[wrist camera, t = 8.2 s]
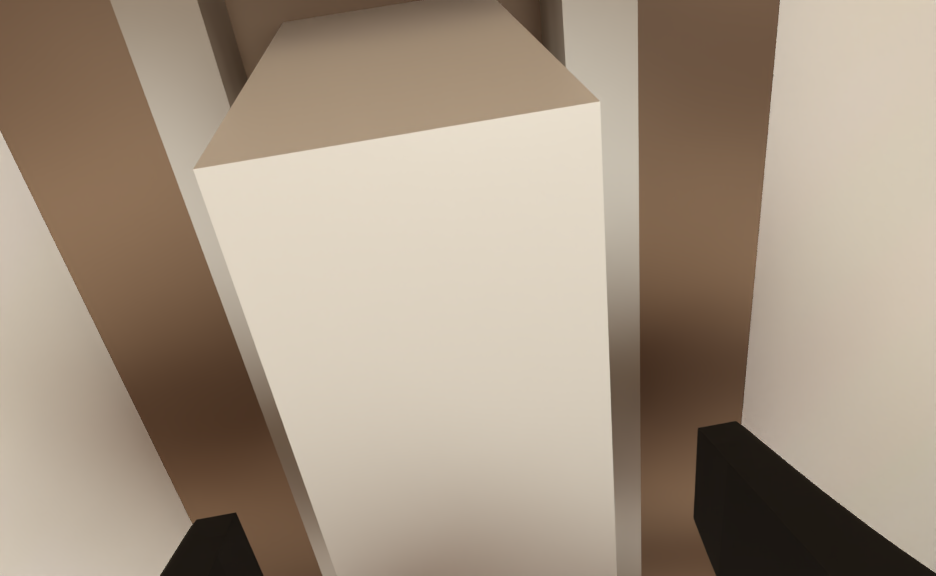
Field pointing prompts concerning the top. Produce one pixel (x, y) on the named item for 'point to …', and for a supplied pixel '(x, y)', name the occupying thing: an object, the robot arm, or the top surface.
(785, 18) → the top surface
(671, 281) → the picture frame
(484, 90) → the cream rectangular block
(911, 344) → the top surface
